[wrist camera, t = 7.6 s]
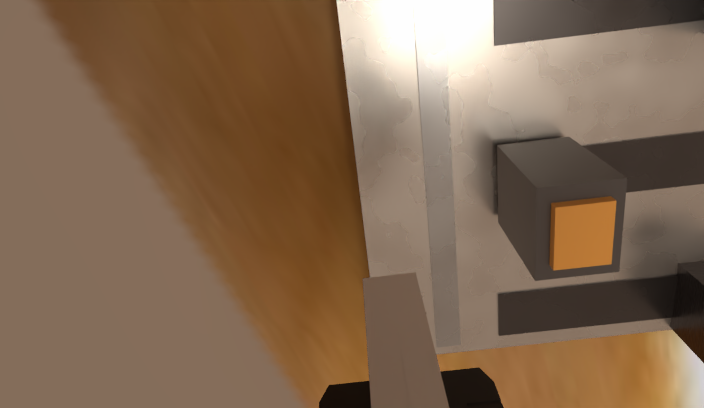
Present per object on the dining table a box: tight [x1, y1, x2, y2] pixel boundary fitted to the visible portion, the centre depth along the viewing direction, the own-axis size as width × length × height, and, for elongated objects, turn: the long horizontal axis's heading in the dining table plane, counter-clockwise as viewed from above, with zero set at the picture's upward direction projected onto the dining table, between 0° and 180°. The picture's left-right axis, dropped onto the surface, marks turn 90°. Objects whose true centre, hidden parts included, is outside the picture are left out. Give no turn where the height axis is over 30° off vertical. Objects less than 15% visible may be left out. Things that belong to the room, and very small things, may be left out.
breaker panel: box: [336, 0, 704, 363], centre depth 22 cm, size 18×24×7 cm
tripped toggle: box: [497, 137, 627, 281], centre depth 21 cm, size 4×3×5 cm
